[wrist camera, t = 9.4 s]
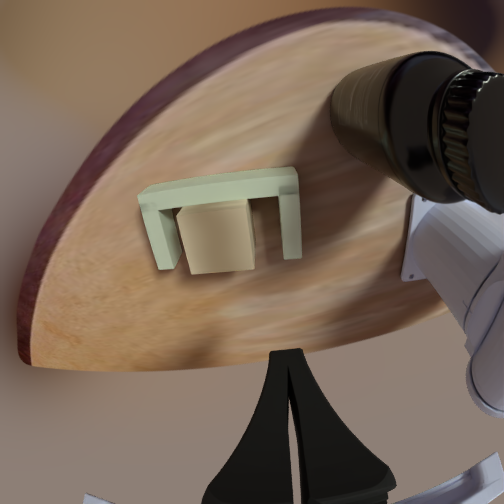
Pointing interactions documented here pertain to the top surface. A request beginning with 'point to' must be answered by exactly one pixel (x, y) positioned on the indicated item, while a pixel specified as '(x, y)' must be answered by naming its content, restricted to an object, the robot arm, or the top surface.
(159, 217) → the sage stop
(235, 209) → the birch block
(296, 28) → the top surface
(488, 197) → the supplement bottle
